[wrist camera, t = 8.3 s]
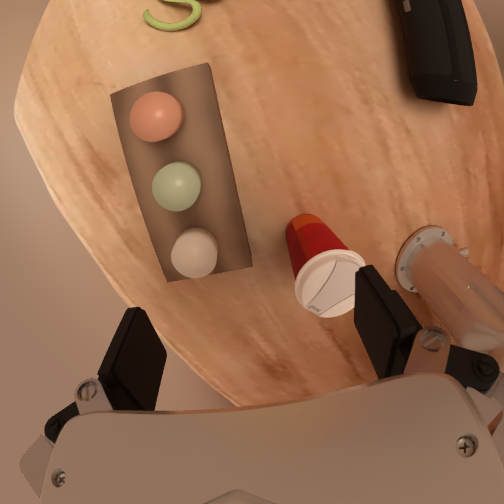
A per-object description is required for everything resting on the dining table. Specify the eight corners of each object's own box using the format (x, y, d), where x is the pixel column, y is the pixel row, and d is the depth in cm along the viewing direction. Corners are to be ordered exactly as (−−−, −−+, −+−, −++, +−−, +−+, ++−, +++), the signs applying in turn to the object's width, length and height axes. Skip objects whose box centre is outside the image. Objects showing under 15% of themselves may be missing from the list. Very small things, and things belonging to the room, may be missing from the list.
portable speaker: (369, -47, 18) (398, -73, 9) (421, -30, 18) (455, -47, 9) (397, 96, 30) (441, 96, 21) (447, 104, 30) (492, 110, 21)
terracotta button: (179, 87, 25) (173, 84, 22) (189, 132, 27) (184, 133, 25) (134, 102, 25) (124, 101, 23) (144, 145, 27) (136, 148, 25)
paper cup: (304, 266, 41) (330, 331, 28) (266, 235, 38) (280, 297, 26) (342, 229, 38) (385, 283, 26) (306, 194, 36) (342, 238, 23)
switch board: (210, 67, 28) (207, 62, 25) (251, 255, 40) (252, 266, 37) (119, 95, 28) (109, 94, 26) (171, 271, 40) (167, 282, 37)
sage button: (196, 155, 29) (192, 158, 27) (207, 198, 32) (204, 205, 29) (153, 166, 30) (146, 171, 27) (165, 208, 32) (159, 216, 30)
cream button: (212, 223, 32) (209, 233, 30) (222, 261, 35) (221, 273, 32) (170, 232, 32) (165, 242, 30) (182, 269, 35) (179, 281, 32)
